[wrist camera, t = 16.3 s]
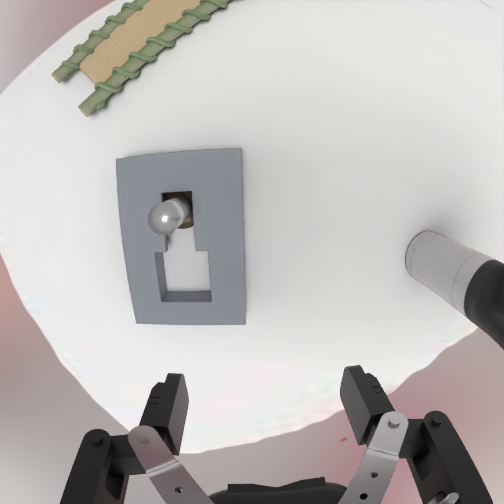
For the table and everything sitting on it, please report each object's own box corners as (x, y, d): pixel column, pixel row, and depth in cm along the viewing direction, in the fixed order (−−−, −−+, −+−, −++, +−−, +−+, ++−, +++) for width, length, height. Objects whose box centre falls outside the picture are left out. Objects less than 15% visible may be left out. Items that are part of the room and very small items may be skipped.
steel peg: (203, 183, 41) (188, 189, 30) (205, 225, 43) (192, 246, 32) (162, 186, 41) (134, 193, 30) (165, 227, 43) (139, 248, 31)
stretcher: (98, 123, 38) (83, 119, 33) (60, 78, 35) (45, 72, 30) (283, -19, 31) (287, -34, 26) (230, -53, 28) (229, -67, 23)
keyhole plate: (241, 150, 40) (241, 148, 36) (245, 312, 47) (246, 324, 43) (126, 159, 40) (115, 159, 36) (143, 312, 47) (136, 323, 43)
